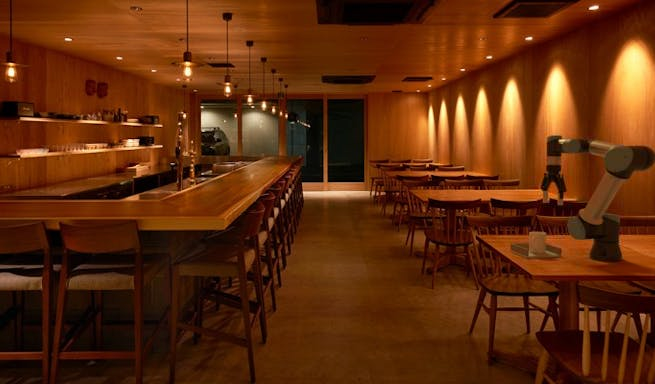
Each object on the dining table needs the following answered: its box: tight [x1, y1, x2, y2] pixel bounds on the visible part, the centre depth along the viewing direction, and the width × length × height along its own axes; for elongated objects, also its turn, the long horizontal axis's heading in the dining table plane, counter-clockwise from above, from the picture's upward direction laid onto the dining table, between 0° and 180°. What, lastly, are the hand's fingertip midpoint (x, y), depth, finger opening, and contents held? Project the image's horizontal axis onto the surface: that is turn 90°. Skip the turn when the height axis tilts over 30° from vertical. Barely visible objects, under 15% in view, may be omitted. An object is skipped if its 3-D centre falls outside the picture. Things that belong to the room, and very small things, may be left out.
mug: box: [528, 231, 547, 254], centre depth 302 cm, size 12×8×10 cm
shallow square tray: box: [509, 242, 562, 259], centre depth 303 cm, size 18×19×4 cm
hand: (552, 204), depth 309 cm, fingers open, 13 cm apart
